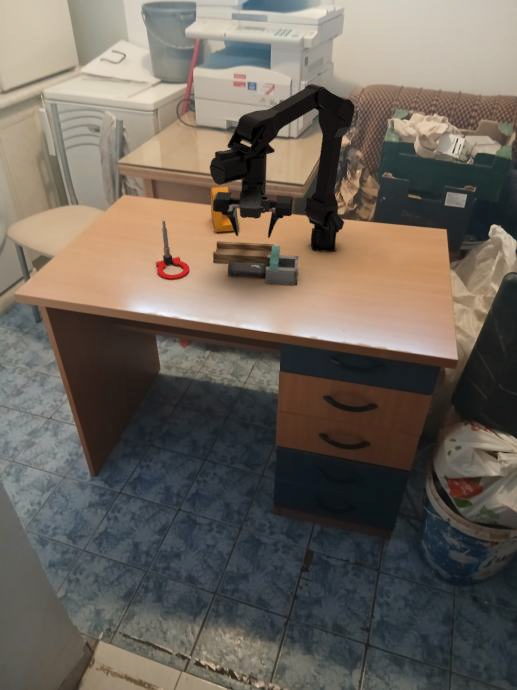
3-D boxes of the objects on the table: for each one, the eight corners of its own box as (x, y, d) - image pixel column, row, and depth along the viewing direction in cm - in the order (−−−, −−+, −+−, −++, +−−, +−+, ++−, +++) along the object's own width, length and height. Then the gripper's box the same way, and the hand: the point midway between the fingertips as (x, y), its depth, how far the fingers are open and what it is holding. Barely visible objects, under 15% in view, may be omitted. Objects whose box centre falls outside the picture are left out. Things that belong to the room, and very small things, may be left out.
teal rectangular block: (279, 252, 134) (279, 246, 133) (277, 270, 127) (277, 263, 126) (272, 252, 134) (272, 245, 133) (269, 270, 127) (269, 263, 126)
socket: (297, 270, 136) (298, 256, 133) (296, 285, 130) (297, 271, 128) (267, 268, 137) (268, 254, 134) (265, 283, 131) (265, 269, 128)
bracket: (239, 232, 153) (239, 194, 145) (215, 234, 152) (214, 195, 144) (234, 216, 161) (233, 179, 153) (211, 218, 160) (209, 181, 152)
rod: (282, 274, 135) (282, 262, 133) (281, 281, 132) (281, 268, 130) (229, 271, 136) (229, 259, 134) (228, 278, 133) (227, 265, 131)
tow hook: (194, 276, 134) (182, 259, 140) (190, 233, 125) (178, 216, 131) (163, 284, 131) (152, 266, 137) (157, 240, 122) (146, 223, 129)
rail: (273, 252, 143) (274, 243, 142) (271, 266, 138) (272, 257, 136) (217, 249, 145) (217, 240, 143) (213, 262, 139) (212, 254, 137)
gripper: (207, 185, 111) (210, 249, 121) (292, 190, 110) (288, 254, 120) (215, 167, 120) (218, 228, 130) (294, 171, 119) (291, 233, 129)
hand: (253, 236), depth 127 cm, fingers open, 8 cm apart
